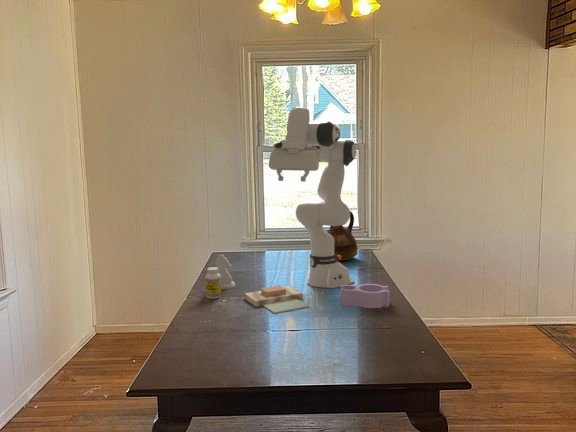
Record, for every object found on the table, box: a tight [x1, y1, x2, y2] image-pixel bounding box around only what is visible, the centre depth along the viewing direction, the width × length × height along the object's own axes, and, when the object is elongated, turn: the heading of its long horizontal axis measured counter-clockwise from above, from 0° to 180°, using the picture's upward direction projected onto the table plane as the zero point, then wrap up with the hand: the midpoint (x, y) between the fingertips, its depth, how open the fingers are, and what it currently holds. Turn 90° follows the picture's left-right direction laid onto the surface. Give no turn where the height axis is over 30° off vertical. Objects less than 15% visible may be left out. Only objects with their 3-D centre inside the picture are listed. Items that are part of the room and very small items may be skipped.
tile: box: [260, 285, 286, 297], centre depth 218 cm, size 9×6×2 cm, turn 117°
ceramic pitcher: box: [326, 210, 358, 262], centre depth 283 cm, size 20×20×30 cm
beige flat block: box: [244, 285, 304, 308], centre depth 219 cm, size 22×12×2 cm, turn 117°
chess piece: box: [215, 254, 236, 290], centre depth 237 cm, size 10×10×15 cm
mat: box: [262, 298, 310, 314], centre depth 209 cm, size 16×11×1 cm
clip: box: [339, 283, 391, 309], centre depth 211 cm, size 20×12×7 cm, turn 83°
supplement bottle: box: [205, 266, 222, 300], centre depth 221 cm, size 7×7×13 cm
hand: (291, 181), depth 198 cm, fingers open, 8 cm apart
